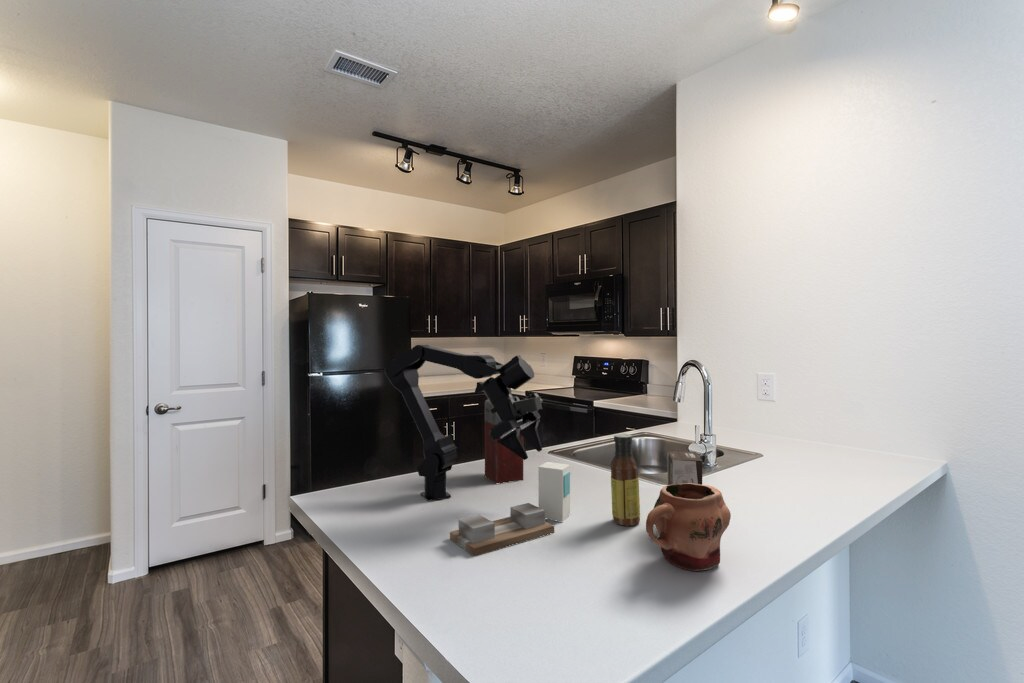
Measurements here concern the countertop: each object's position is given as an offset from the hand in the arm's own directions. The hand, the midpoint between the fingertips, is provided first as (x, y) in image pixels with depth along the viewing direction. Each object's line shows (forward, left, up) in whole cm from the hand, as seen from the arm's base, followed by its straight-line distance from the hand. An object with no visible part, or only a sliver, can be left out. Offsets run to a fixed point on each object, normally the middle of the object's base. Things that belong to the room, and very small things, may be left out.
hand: (533, 454), depth 120 cm
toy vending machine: (-30, +7, -14) cm, 34 cm away
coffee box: (+25, +23, -14) cm, 37 cm away
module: (+5, +2, -14) cm, 15 cm away
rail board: (+9, -14, -14) cm, 21 cm away
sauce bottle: (+16, +14, -14) cm, 26 cm away
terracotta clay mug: (+38, +10, -14) cm, 41 cm away
